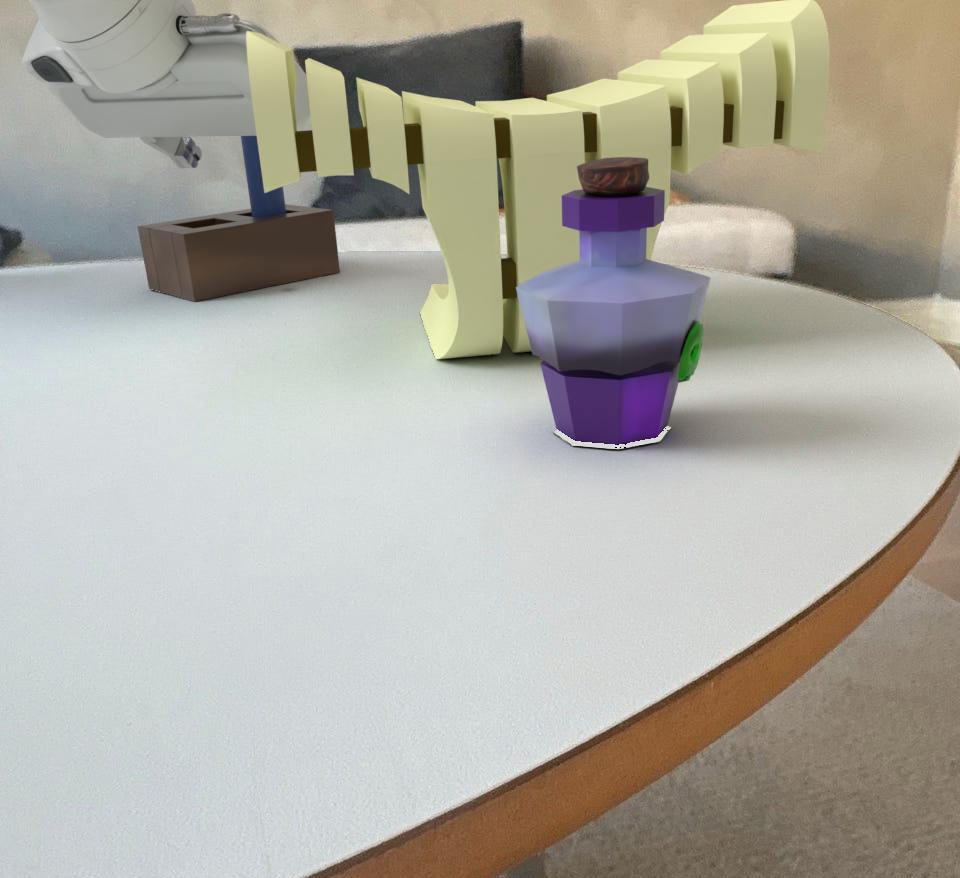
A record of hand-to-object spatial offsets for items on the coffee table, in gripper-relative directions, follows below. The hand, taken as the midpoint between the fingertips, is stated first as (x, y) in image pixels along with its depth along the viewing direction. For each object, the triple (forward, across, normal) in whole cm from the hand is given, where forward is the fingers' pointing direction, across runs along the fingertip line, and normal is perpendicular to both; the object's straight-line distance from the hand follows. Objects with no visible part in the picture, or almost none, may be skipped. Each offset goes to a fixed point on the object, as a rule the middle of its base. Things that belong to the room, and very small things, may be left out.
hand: (239, 161), depth 86 cm
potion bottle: (-12, -41, +26) cm, 50 cm away
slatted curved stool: (-1, -30, +14) cm, 33 cm away
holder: (+6, +1, +7) cm, 9 cm away
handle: (+8, 0, +5) cm, 10 cm away
